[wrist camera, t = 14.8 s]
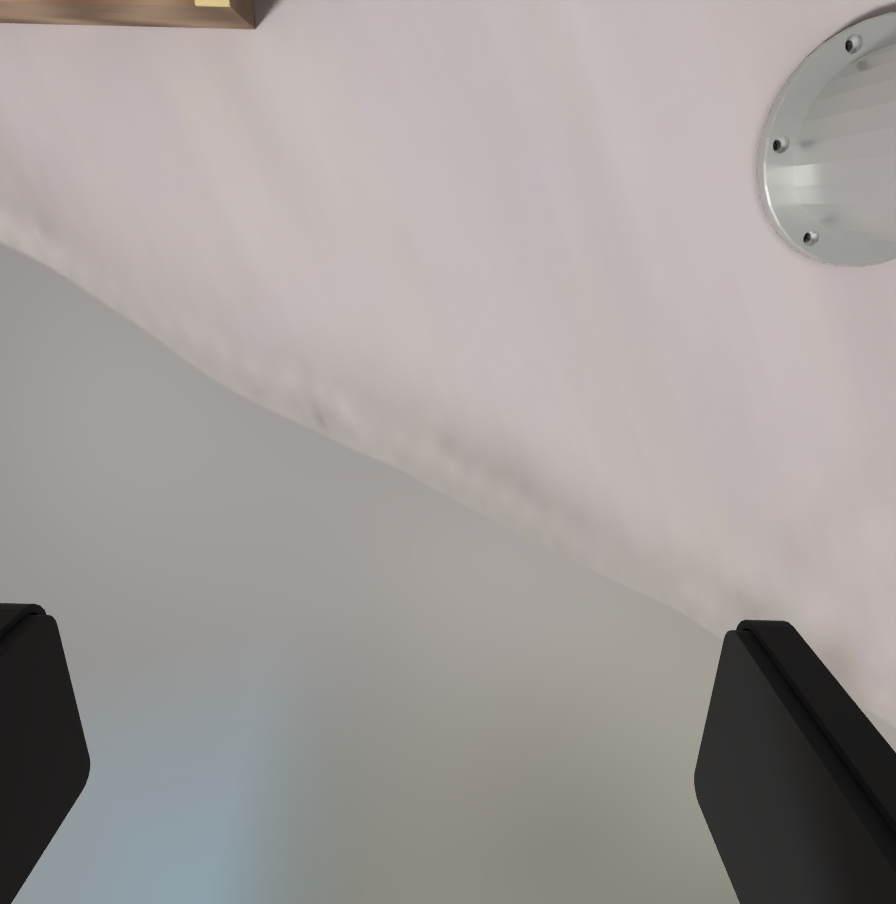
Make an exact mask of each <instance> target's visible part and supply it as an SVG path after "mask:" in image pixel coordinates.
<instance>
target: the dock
mask: <svg viewBox="0 0 896 904" xmlns="http://www.w3.org/2000/svg"><path fill="white" fill-rule="evenodd" d="M0 23H30V24H70V25H110V26H150V27H190V28H230V29H255V21H254V8H253V0H0Z"/></svg>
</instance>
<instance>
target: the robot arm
mask: <svg viewBox="0 0 896 904" xmlns="http://www.w3.org/2000/svg"><path fill="white" fill-rule="evenodd" d="M845 43H847V44H848V49H847V50H846V49H845ZM774 141H776V143H777V148H776V149H775V150H774V149H773V143H774ZM757 180H758V188H759V196H760V199H761V202H762V205H763V208H764V211H765V214H766V216H767V218H768V220H769V221H770V223H771V225H772V226H773V228H774V230H775V231H776V233H777V234H778V235H779V236H780V237H781V238H782V239H783V240H784V241H785V242H786V243H787V244H788V245H789V246H790V247H791V248H793V249H794V250H796V251H797V252H799V253H801V254H802V255H804V256H805V257H808V258H810V259H813V260H816V261H819V262H822V263H826V264H832V265H838V266H854V267H863V266H869V265H875V264H881V263H885V262H888V261H890V260H893V259H896V12H890V13H886V14H883V15H880V16H876V17H873V18H870V19H866V20H864V21H862V22H860V23H857V24H855V25H853V26H851V27H849V28H847V29H845V30H843V31H841V32H840V33H838V34H837V35H835V36H833V37H832V38H830V39H829V40H827V41H826V42H824V43H823V44H821V45H820V46H819V47H818V48H817V49H816V50H815V51H814V52H812V53H811V54H810V55H809V56H808V57H807V58H806V59H805V60H803V62H802V63H801V64H800V65H799V66H798V68H797V69H796V70H795V71H794V73H793V74H792V75H791V76H790V77H789V79H788V80H787V81H786V83H785V84H784V86H783V88H782V89H781V91H780V93H779V94H778V96H777V98H776V99H775V101H774V103H773V105H772V107H771V110H770V112H769V115H768V117H767V120H766V122H765V125H764V127H763V131H762V136H761V140H760V145H759V149H758V160H757ZM805 234H807V238H806V240H805V241H804V240H803V238H804V236H805ZM89 771H90V757H89V753H88V749H87V745H86V741H85V737H84V733H83V729H82V725H81V720H80V717H79V712H78V708H77V704H76V700H75V696H74V692H73V688H72V683H71V680H70V675H69V671H68V667H67V663H66V659H65V655H64V651H63V647H62V642H61V638H60V634H59V630H58V626H57V623H56V620H55V619H54V618H53V617H52V616H50V615H46V612H45V610H44V609H43V608H42V607H41V606H40V605H36V604H13V603H0V904H11V903H12V901H13V899H14V898H15V896H16V895H17V893H18V892H19V890H20V888H21V887H22V885H23V884H24V882H25V881H26V879H27V877H28V876H29V874H30V873H31V871H32V869H33V868H34V866H35V865H36V863H37V861H38V860H39V858H40V857H41V855H42V854H43V852H44V850H45V849H46V847H47V846H48V844H49V843H50V841H51V839H52V838H53V836H54V835H55V833H56V831H57V830H58V828H59V827H60V825H61V823H62V822H63V820H64V819H65V817H66V816H67V814H68V812H69V811H70V809H71V808H72V806H73V805H74V803H75V801H76V800H77V798H78V797H79V795H80V793H81V792H82V790H83V788H84V786H85V785H86V782H87V779H88V776H89ZM694 784H695V791H696V796H697V800H698V803H699V805H700V808H701V810H702V813H703V815H704V817H705V819H706V822H707V824H708V827H709V829H710V832H711V834H712V837H713V839H714V842H715V844H716V846H717V849H718V851H719V854H720V856H721V859H722V861H723V863H724V866H725V868H726V871H727V873H728V876H729V878H730V880H731V883H732V885H733V888H734V890H735V892H736V895H737V897H738V900H739V902H740V904H896V753H895V751H894V750H893V749H892V748H891V747H890V745H889V744H888V743H887V742H886V740H885V739H884V738H883V737H882V735H881V734H880V733H879V732H878V731H877V729H876V728H875V727H874V726H873V724H872V723H871V722H870V721H869V719H868V718H867V717H866V716H865V714H864V713H863V712H862V711H861V710H860V708H859V707H858V706H857V705H856V703H855V702H854V701H853V700H852V698H851V697H850V696H849V695H848V694H847V692H846V691H845V690H844V689H843V687H842V686H841V685H840V684H839V682H838V681H837V680H836V679H835V677H834V676H833V675H832V674H831V673H830V671H829V670H828V669H827V668H826V666H825V665H824V664H823V663H822V661H821V660H820V659H819V658H818V657H817V655H816V654H815V653H814V652H813V650H812V649H811V648H810V647H809V645H808V644H807V643H806V642H805V640H804V639H803V638H802V637H801V636H800V634H799V633H798V632H797V631H796V629H795V628H794V627H793V626H792V625H791V624H790V623H789V622H786V621H770V620H744V621H741V622H740V623H739V625H738V626H737V629H736V630H731V631H728V632H727V633H726V635H725V638H724V641H723V646H722V651H721V655H720V660H719V664H718V669H717V673H716V678H715V682H714V687H713V691H712V696H711V701H710V706H709V710H708V714H707V719H706V723H705V728H704V732H703V737H702V741H701V746H700V750H699V755H698V760H697V764H696V769H695V775H694Z"/></svg>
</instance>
